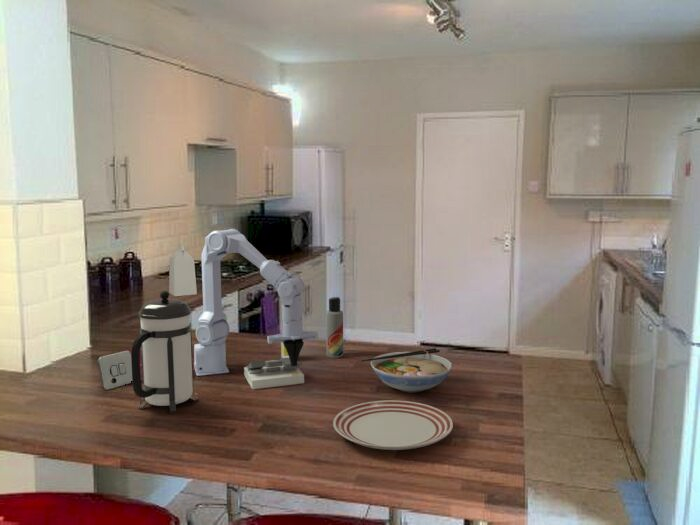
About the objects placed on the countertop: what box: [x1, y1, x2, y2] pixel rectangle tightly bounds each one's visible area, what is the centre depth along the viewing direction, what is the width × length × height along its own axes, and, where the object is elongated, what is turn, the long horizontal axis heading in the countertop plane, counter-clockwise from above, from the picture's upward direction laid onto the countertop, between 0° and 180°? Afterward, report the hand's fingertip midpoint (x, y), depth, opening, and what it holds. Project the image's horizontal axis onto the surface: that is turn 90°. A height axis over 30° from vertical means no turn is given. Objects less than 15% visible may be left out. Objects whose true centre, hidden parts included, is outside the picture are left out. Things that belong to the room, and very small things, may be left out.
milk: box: [168, 243, 198, 297], centre depth 305 cm, size 12×12×26 cm
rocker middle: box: [264, 359, 283, 367], centre depth 169 cm, size 4×7×2 cm, turn 20°
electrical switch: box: [96, 350, 132, 390], centre depth 165 cm, size 9×5×9 cm, turn 141°
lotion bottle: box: [325, 296, 344, 359], centre depth 192 cm, size 6×6×20 cm
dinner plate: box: [332, 399, 454, 451], centre depth 133 cm, size 28×27×3 cm
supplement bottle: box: [280, 342, 289, 358], centre depth 189 cm, size 6×6×10 cm
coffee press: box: [131, 290, 199, 414], centre depth 147 cm, size 17×16×30 cm
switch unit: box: [243, 365, 305, 390], centre depth 170 cm, size 15×13×4 cm
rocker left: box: [246, 360, 265, 370], centre depth 168 cm, size 4×7×2 cm, turn 20°
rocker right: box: [280, 356, 301, 369], centre depth 171 cm, size 4×7×2 cm, turn 20°
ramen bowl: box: [360, 347, 453, 394], centre depth 162 cm, size 25×23×8 cm
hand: (294, 365), depth 167 cm, fingers closed, pressing on rocker right
